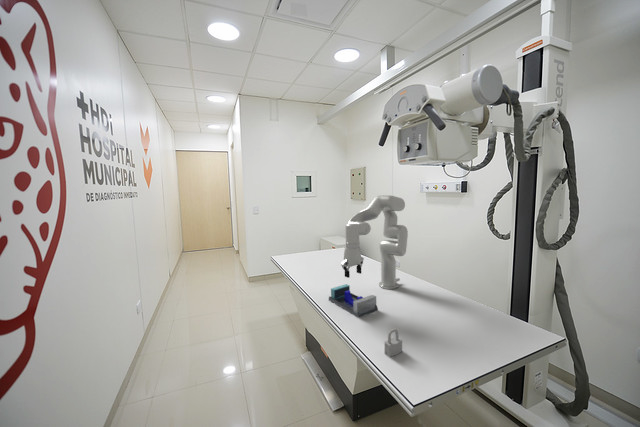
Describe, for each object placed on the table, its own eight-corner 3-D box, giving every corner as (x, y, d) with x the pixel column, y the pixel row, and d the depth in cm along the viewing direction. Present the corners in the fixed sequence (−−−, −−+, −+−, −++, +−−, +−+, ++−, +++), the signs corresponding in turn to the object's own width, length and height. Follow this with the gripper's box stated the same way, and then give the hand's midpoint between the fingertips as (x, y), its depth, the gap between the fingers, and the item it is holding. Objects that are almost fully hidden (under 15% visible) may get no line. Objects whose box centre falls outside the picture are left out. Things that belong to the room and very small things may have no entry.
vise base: (346, 294, 167) (346, 283, 166) (377, 310, 144) (377, 297, 143) (328, 300, 159) (328, 288, 158) (358, 317, 136) (358, 303, 136)
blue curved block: (364, 306, 146) (364, 296, 145) (358, 309, 143) (358, 298, 142) (350, 299, 155) (350, 289, 155) (344, 301, 153) (344, 291, 152)
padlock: (396, 347, 111) (396, 324, 110) (403, 352, 107) (403, 329, 106) (383, 352, 107) (383, 329, 106) (390, 358, 104) (390, 334, 103)
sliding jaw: (346, 293, 165) (346, 284, 164) (349, 294, 162) (349, 285, 162) (331, 297, 158) (330, 288, 158) (334, 299, 156) (333, 290, 155)
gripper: (358, 242, 155) (358, 270, 157) (336, 247, 144) (337, 277, 146) (367, 244, 150) (368, 273, 151) (346, 249, 139) (347, 280, 140)
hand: (353, 275), depth 149 cm, fingers open, 9 cm apart
